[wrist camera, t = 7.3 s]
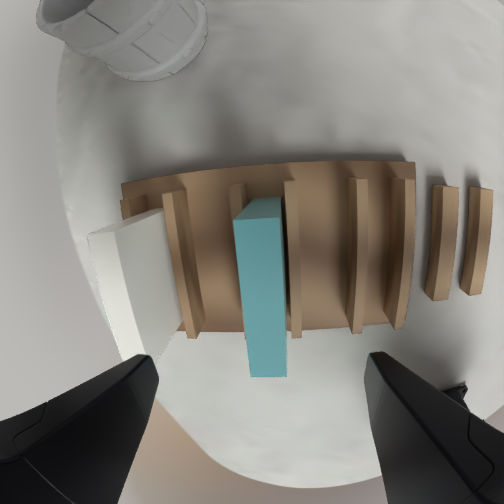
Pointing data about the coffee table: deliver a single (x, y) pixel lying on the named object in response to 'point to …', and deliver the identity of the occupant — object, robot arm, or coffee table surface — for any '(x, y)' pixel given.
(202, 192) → the rack
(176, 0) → the mug
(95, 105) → the coffee table surface
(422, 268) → the coffee table surface
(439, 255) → the wooden slats
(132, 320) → the cream plate
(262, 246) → the teal rectangular prism
